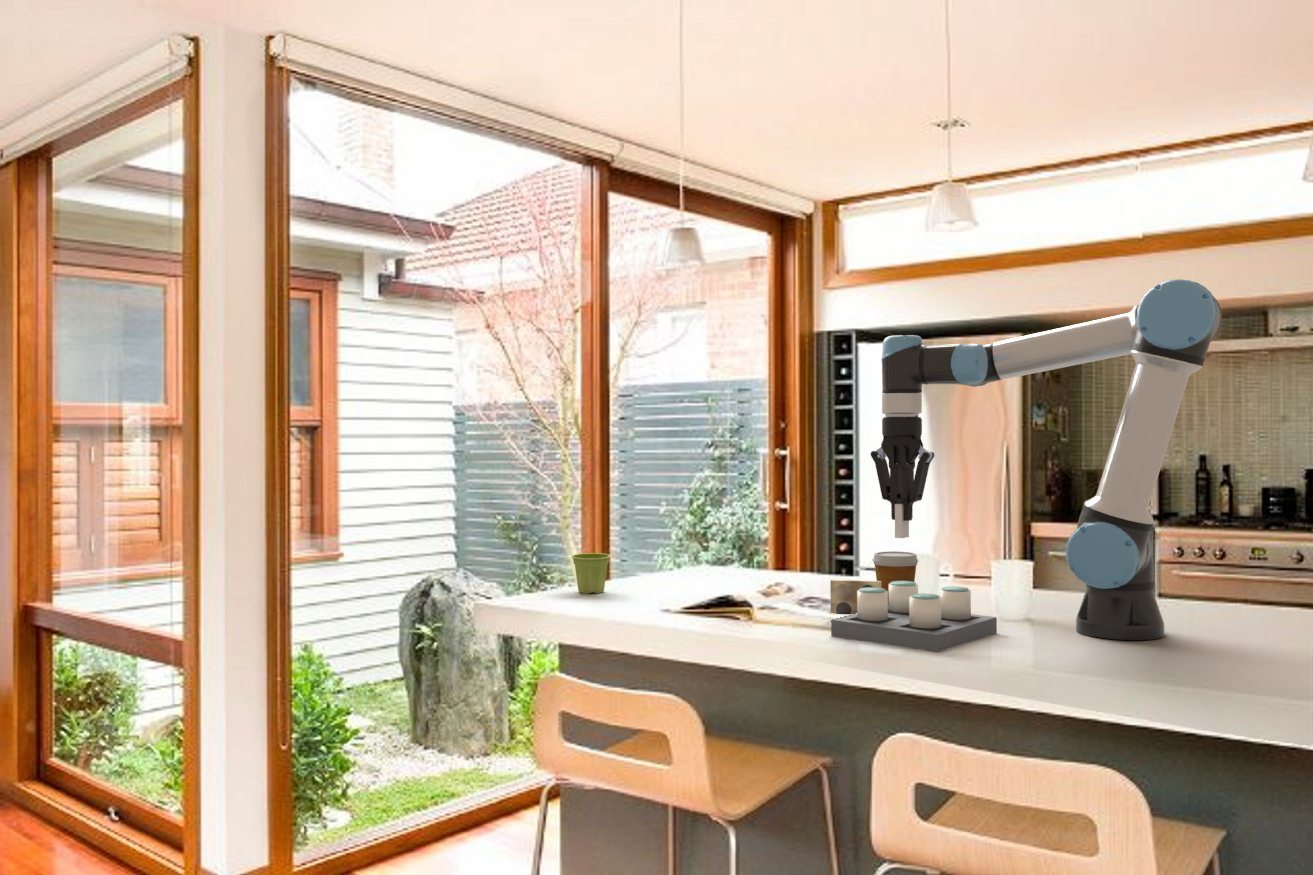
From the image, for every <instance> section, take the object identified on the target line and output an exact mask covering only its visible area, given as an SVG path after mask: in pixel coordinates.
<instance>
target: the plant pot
mask: <svg viewBox="0 0 1313 875" xmlns="http://www.w3.org/2000/svg"><path fill="white" fill-rule="evenodd" d="M611 557H612V555H611V554H609V553H608V554H607V553H600V552H598V553H597V552H591V553H584V552H583V553H576V554H573V555H571V559H572V560H573V565H574V568H575V570H574V571H575V576H576V584H577V591H578V592H579V593H580V594H591V593H595V594H601V593H604V592H605V587H606V586H605V585H606V578H607V570H608V564H609V561H610V558H611Z"/></svg>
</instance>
